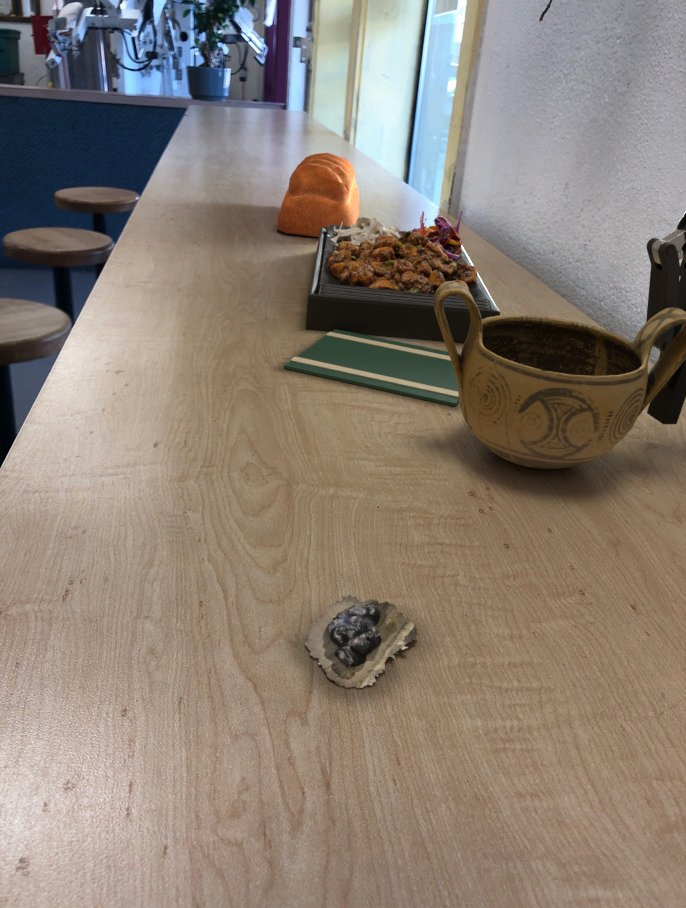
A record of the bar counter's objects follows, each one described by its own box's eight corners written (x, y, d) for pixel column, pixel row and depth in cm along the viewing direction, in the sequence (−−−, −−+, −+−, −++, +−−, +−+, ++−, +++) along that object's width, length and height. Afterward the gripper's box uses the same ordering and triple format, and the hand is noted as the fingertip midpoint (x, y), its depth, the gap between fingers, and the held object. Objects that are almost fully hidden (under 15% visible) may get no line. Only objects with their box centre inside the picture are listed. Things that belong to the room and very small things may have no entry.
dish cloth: (486, 362, 96) (487, 358, 96) (455, 406, 83) (456, 402, 83) (334, 331, 102) (334, 328, 102) (283, 368, 89) (283, 364, 89)
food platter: (318, 252, 141) (323, 191, 136) (454, 264, 141) (464, 203, 136) (305, 329, 102) (311, 247, 97) (494, 345, 102) (510, 265, 97)
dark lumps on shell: (422, 617, 51) (426, 594, 50) (407, 702, 45) (412, 677, 44) (321, 597, 52) (324, 574, 52) (292, 677, 46) (294, 652, 45)
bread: (272, 234, 151) (276, 161, 145) (291, 207, 179) (295, 144, 172) (353, 242, 151) (360, 169, 144) (360, 213, 178) (366, 150, 171)
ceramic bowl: (412, 480, 68) (439, 309, 61) (413, 404, 83) (434, 260, 75) (675, 511, 67) (736, 340, 59) (628, 429, 81) (671, 283, 74)
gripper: (780, 154, 69) (694, 401, 81) (652, 145, 66) (582, 404, 78) (848, 167, 63) (744, 433, 75) (711, 158, 60) (624, 437, 72)
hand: (661, 418), depth 77 cm, fingers closed
